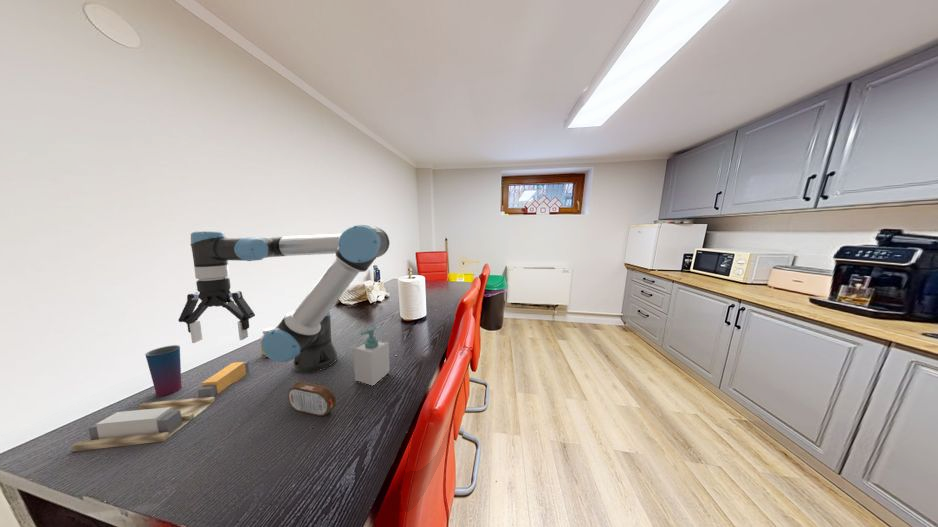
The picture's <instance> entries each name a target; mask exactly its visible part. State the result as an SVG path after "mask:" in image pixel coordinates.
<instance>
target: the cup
mask: <svg viewBox="0 0 938 527" xmlns="http://www.w3.org/2000/svg"><path fill="white" fill-rule="evenodd" d="M144 356H145V359H146V362H147V366H148V368H149V373H150V376H151V380H152V384H153V387H154V392H155V394H156V397H165V396H169V395H171V394H175V393H177V392H178V391H180V390H181V389H182V368H181V365H182V364H181V346H180V345H177V344H173V345H167V346H162V347H159V348H155V349H152V350H149V351H148V352H146V353H145V354H144Z"/></svg>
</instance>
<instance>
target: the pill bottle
mask: <svg viewBox="0 0 938 527" xmlns="http://www.w3.org/2000/svg"><path fill="white" fill-rule="evenodd" d="M276 327H277V326H270V327H266V328H264V329H263V330H262V334H263V335H262V336H260V342H261V341H262V338H263V337H264V335H265V334H267V333H268V332H269V331H270V330H273V329H275V328H276ZM260 350H261V357H262V358H265V357H267V356H266V355H265V354H264V352H263V349H262V347H261V346H260Z"/></svg>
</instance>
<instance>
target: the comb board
mask: <svg viewBox="0 0 938 527" xmlns="http://www.w3.org/2000/svg"><path fill="white" fill-rule="evenodd" d="M215 401H216V397H215V396H213V397H205V398H199V397H195V398H184V399H182V398H181V399H173V400H160V401H150V402H143V403H141V404H140V405H138V406H139V410H145V409H156V408H167V407H172V410H173V411H179V410H180V412H181V419H182V424H181V425H180V426H179V427H177V428H176V429H175V430H173V431H172V432H171V433H170V434H169V433H168V432H164V433H154V434H145V435H135V436H126V437H117V438H107V439H98V440H91V439H90V440H82V441H81V440H80V441H77V442H76V443H74V444H73V445H71V449H72V452H78V451H89V450H94V449H95V450H97V449H104V448H105V449H106V448H114V447H123V446H133V445H141V444H150V443H161V442H165V441H166V440H168V439H169V438H170V437H172V436H173V435H174V434H175V433H176V432H178V431H179V430H180V429H182V428H183V427H184V426H185V425H186V424H188V423H189V422H190V421H191V420H193V419H194V418H196V417H197V416H198V415H199V414H201V413H202V412H203V411H204V410H206V409H207V408H209V406H211V405H213V403H214V402H215Z"/></svg>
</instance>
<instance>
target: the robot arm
mask: <svg viewBox="0 0 938 527" xmlns="http://www.w3.org/2000/svg"><path fill="white" fill-rule="evenodd" d="M190 247H191V253H192V260H193V269H194V276H195V279H196V292H193V293H188V294H187V296H186V303H185V304H184V307H183V309H182V312H181V314H180V315H179V318H178V320H177V321H178V322H179V323H185V324H186V326H187V331H188V333H190V338H191V343H192V344H196V343H197V342H200V341H202V340H203V335H202V327H201V321H200V320H199V318H200V317H201V315H203V313H204V312H205V311H206V310H207V309H208V308H209V307H210V308H211V307H222V308H225V309H226V310H227V311H228V312H230V313H231V314H232V315H234V316H235V317H236V318H237V319H238V320H239V321H237V329H238V338H239V341H243V340H245V339H247V338H248V337H249V333H248V329H249V328H250V319H252V318H253V317H254V318H255V316H256V314H255V312H254V311H253V309H252V308H251V307H250V305H249V304H248V303H247V301H246V300H245V299H244V297H243V293H242V291H240V290H239V291H236V292H231V290H230V289H231V280H230V278H229V276H230V272H229V262H228V261H241V262H242V261H246V262H252V261H254V262H255V261H262V260H263V259H266V258H276V257H292V256H294V257H295V256H311V255H312V256H315V255H318V256H319V255H334V257H335V258H334V260H333V261H332V262H331V263H330V265H329V266H328V268H327V269H326V270H324V273H323V274H322V275H321V277H320V278H319V279H318V281H317V282H316V284H315V285H314V286H313V287H312V288H311V290H310V291H309V293H307V295H306V296H305V297H304V299H302V302H301V303H300V304H299V306H298V307H297V308H296V309H295V311H290V312H288V313H286V314H285V315H284V317H283V318H282V320H281V321H280V322H279V323H278V325H277V326H275V327H276V328H275V329H273V330H270V331H269V332H268V333H267V334H265V335H264V334H263V335H264V337H263V338H262V341H261V340H260V348H261V347H262V349H263V352H264V354H265V355H266V356H267V357H268V359H270V360H271V361H273V362H277V363H288V362H291V361H292V360H293V364H292V366H293V370H294V371H295V372H296V373H299V372H300V374H303V373H304V374H308V373H309V372H310V373H313V371H315V372H318V371H317V370H319V371H321V370H320V369H322V370H324V369H323V368H325V367H327V366H329V365H330V364H332V363H333V362H334V361H335V360H336V359H337V360H338V352H337V350H336V348H335V345H334V343H333V341H332V325H331V324H332V322H331V313H330V312H331V310H332V308H333V307H334V305H336V303H337V302H338V301H339V299H340V298H341V297H342V295H343V294H344V292H345V291H346V290H347V289H348V287H349V286H350V285H351V283H353V281H354V280H355V278H356V277H357V276H358V275H359V273H364V272H367V270H368V269H369V268H370V267H371V265H372V264H373V263H374V262H375V261H376V259H377V258H379V257H382V256H383V255H386V253H387V252H388V249H389V248H390V237H389V235H388V234H387V232H386V231H385V230H383V229H382V228H380V227H377V226H373V225H372V226H370V225H365V224H357V225H352V226H350V227H348V228H346V229H345V230H343V231H342V232H341V233H331V234H309V235H286V236H265V237H263V236H260V237H258V236H257V237H253V236H252V237H249V236H248V237H226V235H225V232H223V231H218V230H217V231H214V230H213V231H211V230H210V231H209V230H206V231H203V230H202V231H201V230H200V231H199V230H197V231H195V230H194V231H191V233H190ZM197 291H198V292H197ZM199 300H200V302H199ZM198 303H199V304H198ZM197 304H198V305H197ZM196 306H197V307H196ZM337 360H336V361H337ZM332 365H333V364H332ZM329 367H330V366H329ZM327 368H328V367H327ZM325 369H326V368H325ZM310 373H309V374H310Z"/></svg>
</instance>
